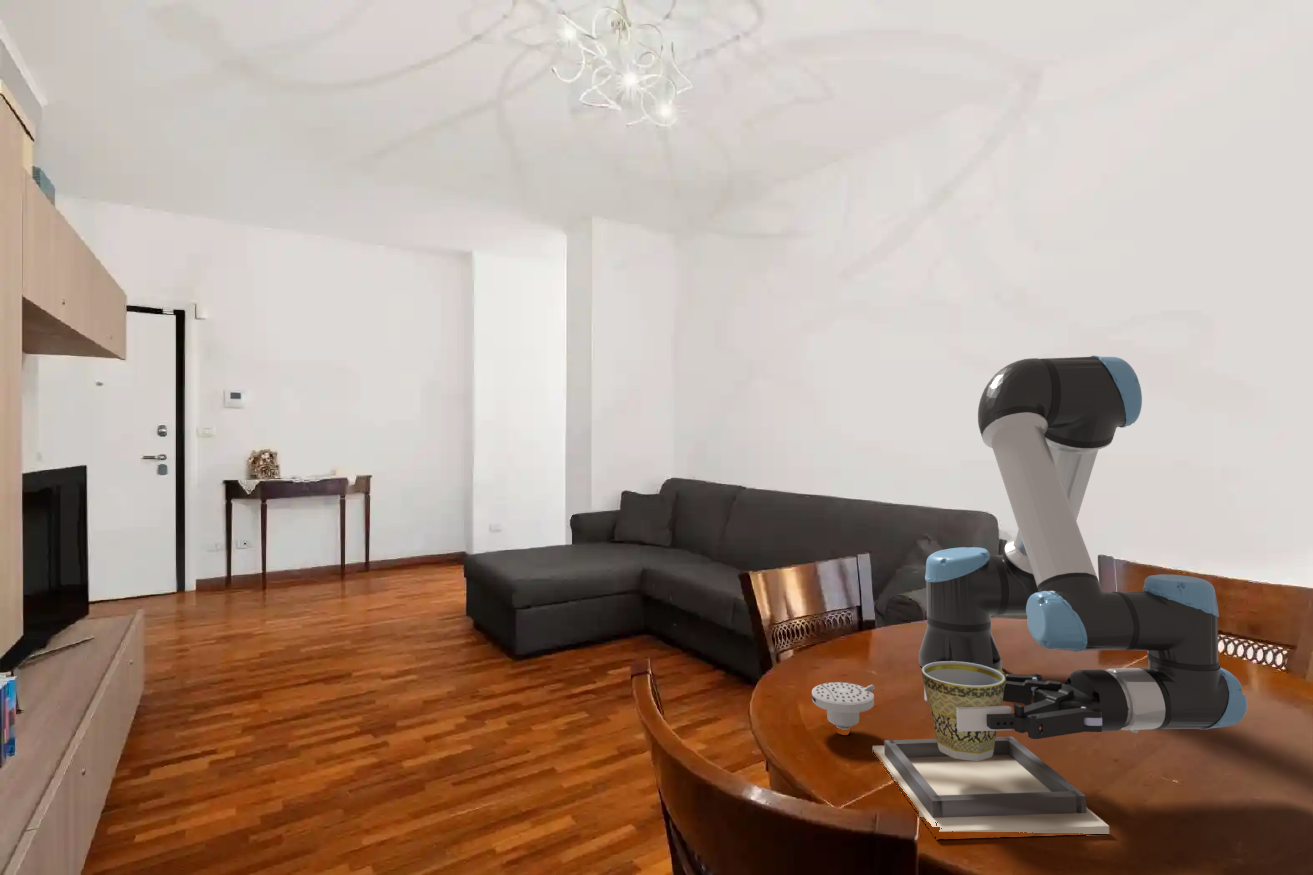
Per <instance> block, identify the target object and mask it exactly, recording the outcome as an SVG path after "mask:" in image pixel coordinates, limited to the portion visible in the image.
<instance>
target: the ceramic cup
mask: <svg viewBox="0 0 1313 875" xmlns="http://www.w3.org/2000/svg"><path fill="white" fill-rule="evenodd" d="M920 671H921V676H922V681H923V682H922V683H923V688H924V687H925V692H926V696H927V699H928V702H927V703H928V705H929V708H930V713H931V718H932V723H933V727H934V733H935V737H936V738H935V739H937V744H938V748H939V750H940V752H942V753H944V754H946V755H949V756H951V757H953V758H955V759H962V760H970V761H980V760H983V759H987V758H990V757H992V755H993V751H994V745H995V738H996V737H997V732H998V731H967V732H959V731H958V730H957V715H956V707H986V706H1003V702H1004V701H1003V695H1004V688H1005V685H1006V675H1005V674H1006V673H1005V672H1004V671H1003V669H1002V670H998V669H992V668H990V667H987V666H983V665H979V664H974V663H968V662H958V661H941V662H933V663H929V664H927V665H925V666H923V667H922V668H921V670H920Z"/></svg>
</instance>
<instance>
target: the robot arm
mask: <svg viewBox="0 0 1313 875" xmlns="http://www.w3.org/2000/svg"><path fill="white" fill-rule="evenodd" d="M1138 378H1139V377H1138V376H1137V373H1136V372H1135V370H1134V368H1133V367H1132V366H1131V364H1129V362H1127V361H1126V360H1124V359H1122V358H1120V357H1117V356H1099V355H1095V354H1094V355H1090V356H1077V357H1075V356H1074V357H1073V356H1071V357H1051V358H1049V357H1048V358H1047V357H1046V358H1037V357H1035V358H1034V357H1033V358H1031V357H1029V358H1024V359H1019V360H1016V361H1014V362H1012V363H1009V364H1007V365H1006V366H1004V367H1003V368H1001V369H1000V370H999V371H998V372H996V373H995V374H994V375H993V376H992V377H991V379H990V380H989V382H988V383H987V384H986V385H985V388H984V389H983V392H982V394H981V396H980V399H979V403H978V407H977V408H978V410H977V423H978V428H979V432H980V434H981V437H982V439H981V440H982V441H983V443H984V445H986V446H987V447H988V448H991V449H992V450H993V453H994V457H995V460H996V463H997V466H998V469H999V472H1000V475H1001V478H1002V479H1001V480H1002V482H1003V485H1004V487H1005V491H1006V494H1007V497H1008V500H1009V504H1010V507H1011V509H1012V512H1013V516H1014V520H1015V522H1016V524H1017V528H1018V530H1017V533H1016V536H1015V537H1012V538H1011V539H1008V541H1007V542H1006V543H1005V546H1004V550H1003V554H994V555H991V554H990V552H989V550H987V549H986V548H984V547H978V546H977V547H976V546H973V547H971V546H970V547H966V546H964V547H963V546H962V547H960V546H959V547H953V548H951V547H950V548H947V549H941V550H937V551H935V552H933V553H931V554H930V555H928V557H927V559H926V562H925V575H924V580H925V589H926V595H925V596H926V624H927V625H926V630H925V632H924V635H923V638H922V641H921V642H922V643H921V645H920V648H919V651H918V665H919V664H920V665H921V667H923V666H925V665H927V664H929V663H933V662H941V661H958V662H968V663H974V664H979V665H983V666H987V667H990V668H992V669H998V670H1002V671H1003V660H1002V657H1001V655H1000V653H999V648H998V647H997V643H996V641H995V638H994V636H993V632H992V616H1026V617H1027V618H1026V619H1027V620H1026V622H1027V623H1026V624H1027V627H1028V631H1029V633H1030V635H1031V637H1032V638H1033V640H1034V641H1035V642H1036V643H1037V644H1038V645H1039V646H1040V647H1042V648H1044V649H1047V650H1055V651H1071V652H1083V651H1085V652H1086V651H1138V652H1139V651H1145V652H1146V653H1147V654H1146V656H1147V659H1148V667H1144V668H1142V667H1123V668H1117V667H1116V668H1106V669H1078V670H1074V671H1072V673H1070V674H1069V676H1068V678H1067V679H1066V681H1065V682H1064V683H1063V682H1061V681H1059V680H1058V681H1057V680H1046V681H1044V680H1043V675H1042V674H1040V673H1033V674H1032V673H1031V674H1030V673H1029V674H1015V673H1014V674H1011V673H1005V675H1006V685H1005V688H1004V695H1003V701H1002V702H1010V703H1013V709H1012V707H1011V706H1009V705H1002V706H986V707H956V715H957V730H958V731H959V732H967V731H997V732H998V731H999V732H1000V731H1013V730H1014V731H1015V733H1016V732H1017V733H1019V734H1024V733H1025V734H1026V733H1027V737H1028V738H1029V739H1031V740H1041V739H1047V738H1054V737H1058V736H1059V737H1061V736H1065V735H1067V736H1068V735H1073V734H1080V733H1085V732H1086V733H1087V732H1088V733H1101V732H1117V731H1121V730H1122V731H1130V732H1131V733H1134V734H1138V732H1139V731H1142V730H1143V731H1144V730H1181V729H1182V730H1185V729H1186V730H1188V729H1189V730H1191V729H1192V730H1194V729H1195V730H1196V729H1197V730H1209V729H1217V728H1226V727H1233V726H1235V725H1237V724H1238V723H1241V721H1243V719H1245V718H1244V717H1245V716H1246V714H1247V710H1248V701H1247V696H1246V694H1244V693H1243V691H1242V688H1243V686H1242V684H1241V682H1240V681H1239V679H1238V678H1237V677H1236V676H1235V675H1234V674H1232V673H1231V672H1230V671H1228V670H1227V669H1225V668H1223V667H1221V665H1220V660H1219V618H1220V614H1219V607H1218V606H1219V605H1218V599H1217V595H1216V590H1215V587H1214V586H1213V584H1212V583H1211V582H1209V581H1207V580H1206V579H1203V578H1202V577H1201V578H1199V577H1196V576H1189V575H1181V574H1168V573H1167V574H1166V573H1165V574H1162V573H1161V574H1156V575H1154V574H1152V575H1149V576H1147V577H1145V579H1144V584H1143V587H1142V591H1104V590H1103V588H1102V585H1101V582H1100V581H1099V579H1098V578H1099V577H1098V575H1097V573H1096V570H1095V566H1094V565H1093V562H1092V560H1091V557H1090V555H1089V551H1088V549H1087V547H1086V546H1087V545H1086V544H1085V540H1084V539H1083V535H1082V533H1081V530H1080V527H1079V525H1078V523H1077V520H1078V517H1079V513H1080V510H1081V506H1082V503H1083V501H1084V498H1085V494H1086V490H1087V488H1088V484H1089V481H1090V478H1091V475H1092V473H1093V467H1094V464H1095V461H1096V458H1097V454H1098V452H1099V450H1101V449H1104V448H1106V447H1108V446H1109V445H1111V444H1112V442H1113V439H1114V436H1115V433H1116V430H1117V428H1127V427H1129V426H1131V425H1132V424H1135V423H1136V421H1137V420H1138V418H1139V417H1140V414H1141V412H1142V411H1141V410H1142V407H1143V406H1142V404H1143V395H1142V387H1141V384H1140V382H1139V379H1138ZM920 665H919V666H920ZM921 667H920V668H921ZM923 690H924V691H923V692H924V693H923V694H924V697H923V698H924V701H925V702H927V703H929V702H928V699H927V696H926V692H925V687H924V686H923ZM1032 696H1033V700H1034V701H1033V700H1032ZM1021 704H1023V705H1021ZM1012 712H1014V713H1012ZM1040 728H1041V729H1040Z"/></svg>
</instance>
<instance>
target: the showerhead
mask: <svg viewBox="0 0 1313 875" xmlns="http://www.w3.org/2000/svg"><path fill="white" fill-rule="evenodd" d="M875 689H876V686H875V685H874V684H870V685H867V686H866V687H865V686H862V685H859V684H857V683H851V682H843V681H840V682H839V681H838V682H835V681H832V682H826V683H821V684H818V685H816V686H814V687H813V688H812V690H811V699H812V700H811V701H812V703H813V704H814V705H816V706H817V707H818V708H820V709H822V710H825V711H826V716H827V717H826V718H827V721H828V722H830V724H832V725H834V726H835V728H836V727H837V728H839V729H841V730H849V729H850V728H851V727H854V726H855V725H857V724H858V723H859V722H860V713H864V712H867V711H869V710H870V709H872V708H874V705H875V695H874V693H873V692H872V691H873V690H875Z"/></svg>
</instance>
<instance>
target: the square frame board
mask: <svg viewBox="0 0 1313 875" xmlns="http://www.w3.org/2000/svg"><path fill="white" fill-rule="evenodd" d="M883 743H884V745H872V751H873V750H874V752H875V753H876V754H877V756H878V757H879V759H880V760H881V762H883V764H884V766H885V767H886V768H887V770H888V771H889V772H890V774H891V775H892V777H894V779H895V780H896V782H898V784H899V786H900V787H901V788H902V789H903V791H904V792H905V793H906V794H907V796H908V797H909V798H910V800H911V801H912V802H913V804H914V805H915V807H916V808H917V810H918V811H919V816H918V817H919V818H920V817H924V818H925V819H926V821H927V822H929V823H930V824H931V826H932V827H940V830H939V832H952V831H953V832H1019V833H1020V832H1023V833H1024V832H1027V833H1032V832H1033V833H1079V834H1080V833H1083V834H1109V835H1110V825H1109V824H1107V823H1106V822H1105V821H1104V820H1103V819H1101V817H1099V816H1098V815H1096V813H1094V812H1093V811H1092V810H1091V809H1089V808H1088V807H1087V796H1086V795H1085V794H1084V793H1083V792H1081V791H1080V790H1079V789H1078V788H1076V787H1075V786H1074V785H1073V784H1072V783H1070V781H1068V780H1067V779H1065V778H1064V777H1063V776H1062V775H1061V774H1059V773H1058V772H1057V771H1056V770H1055V769H1053V768H1052V767H1051V766H1049V764H1047V763H1046V762H1044V761H1043V760H1042V759H1041V758H1040V757H1039V756H1037V755H1036V754H1034V752H1032V751H1031V750H1029V749H1028V748H1027V747H1026V746H1025V745H1023V744H1022V743H1021V742H1020V741H1019V740H1017V739H1016V738H1015V737H1013V736H996V738H995V745H994V751H993V755H992V757H990V758H987V759H983V760H980V761H970V760H962V759H955V758H953V757H951V756H949V755H946V754H944V753H942V752H940V750H939V748H938V744H937V739H936V738H923V739H922V738H921V739H919V738H918V739H914V738H913V739H889V740H888V739H886V740H884V741H883ZM935 822H936V823H937V822H938V823H937V826H936V823H935ZM941 828H942V829H941Z"/></svg>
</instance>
